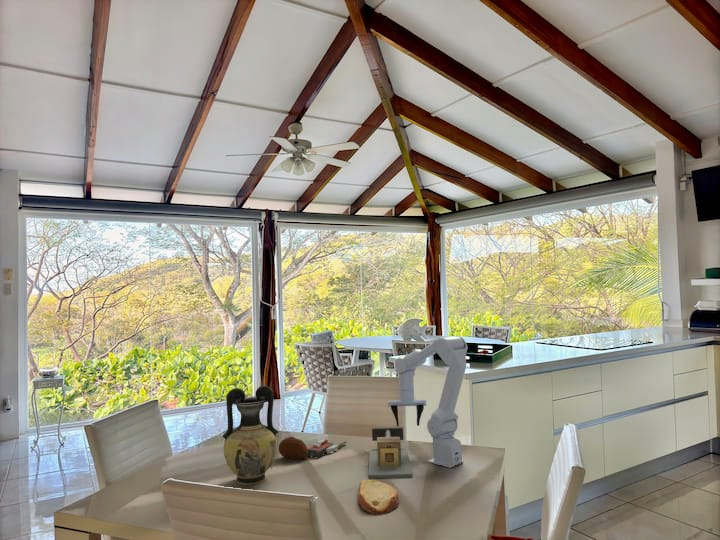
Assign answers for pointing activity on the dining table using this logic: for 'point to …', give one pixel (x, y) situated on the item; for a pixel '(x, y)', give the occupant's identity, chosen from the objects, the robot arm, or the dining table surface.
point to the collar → (389, 450)
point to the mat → (389, 472)
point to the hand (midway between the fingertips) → (407, 425)
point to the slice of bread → (377, 497)
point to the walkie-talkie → (322, 448)
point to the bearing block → (388, 442)
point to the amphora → (250, 436)
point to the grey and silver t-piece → (387, 433)
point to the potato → (293, 448)
